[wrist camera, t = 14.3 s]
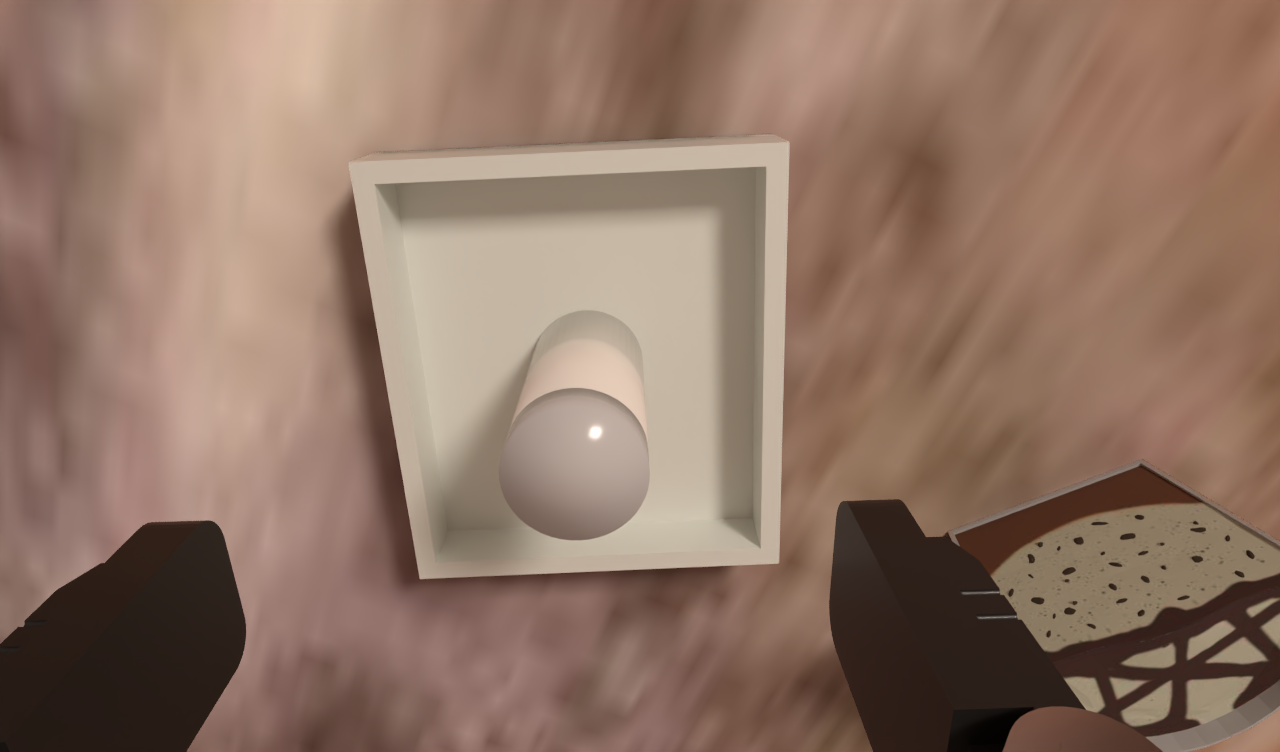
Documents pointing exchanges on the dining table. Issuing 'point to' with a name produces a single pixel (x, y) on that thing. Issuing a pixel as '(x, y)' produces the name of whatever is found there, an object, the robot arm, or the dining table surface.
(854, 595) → the robot arm
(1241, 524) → the food container
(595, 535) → the salt shaker
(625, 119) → the dining table surface
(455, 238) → the tray
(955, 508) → the dining table surface
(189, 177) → the dining table surface
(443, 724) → the dining table surface
